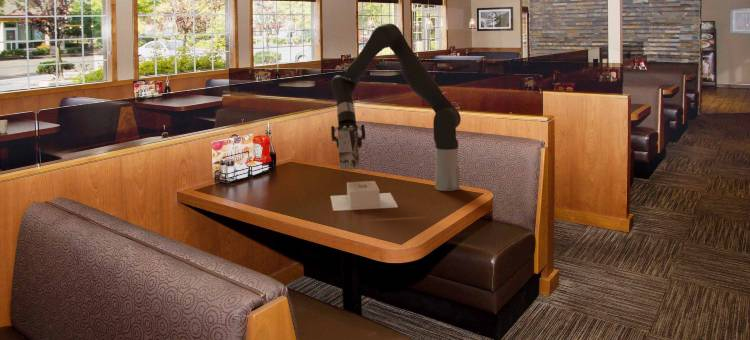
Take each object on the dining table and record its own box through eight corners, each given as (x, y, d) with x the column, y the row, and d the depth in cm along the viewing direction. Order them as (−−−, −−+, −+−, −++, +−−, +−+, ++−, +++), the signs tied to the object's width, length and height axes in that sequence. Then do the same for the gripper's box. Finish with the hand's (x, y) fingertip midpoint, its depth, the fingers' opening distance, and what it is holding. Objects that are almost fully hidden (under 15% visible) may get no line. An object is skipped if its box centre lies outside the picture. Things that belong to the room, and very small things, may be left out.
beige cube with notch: (375, 195, 242) (374, 180, 241) (379, 205, 229) (379, 190, 227) (347, 197, 241) (346, 182, 240) (350, 207, 228) (349, 191, 226)
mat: (390, 194, 246) (390, 192, 246) (398, 208, 227) (398, 207, 227) (330, 197, 243) (330, 195, 243) (333, 212, 224) (333, 210, 224)
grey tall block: (354, 170, 247) (352, 130, 243) (339, 170, 248) (337, 130, 245) (360, 165, 256) (358, 126, 252) (345, 164, 257) (342, 126, 253)
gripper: (329, 111, 255) (332, 143, 247) (363, 109, 257) (367, 141, 248) (329, 121, 261) (332, 153, 253) (362, 120, 263) (366, 151, 255)
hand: (349, 147), depth 251 cm, fingers closed on grey tall block, 7 cm apart
